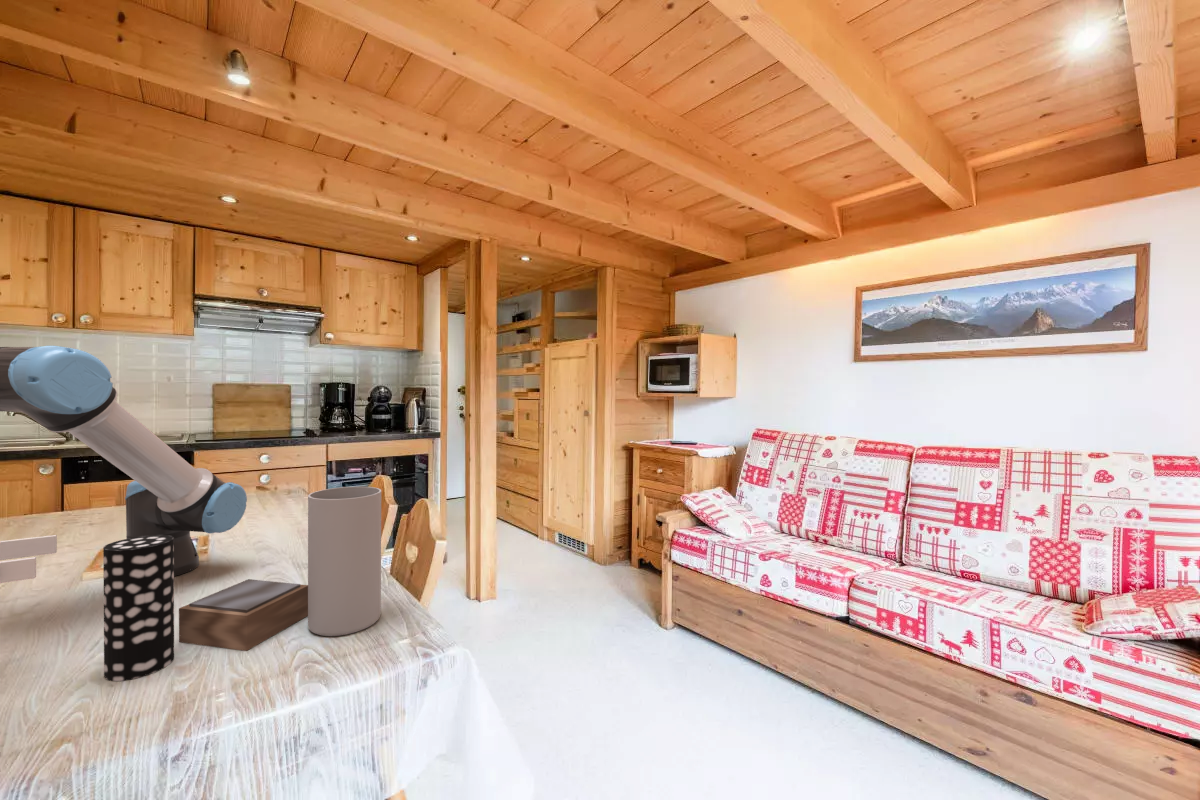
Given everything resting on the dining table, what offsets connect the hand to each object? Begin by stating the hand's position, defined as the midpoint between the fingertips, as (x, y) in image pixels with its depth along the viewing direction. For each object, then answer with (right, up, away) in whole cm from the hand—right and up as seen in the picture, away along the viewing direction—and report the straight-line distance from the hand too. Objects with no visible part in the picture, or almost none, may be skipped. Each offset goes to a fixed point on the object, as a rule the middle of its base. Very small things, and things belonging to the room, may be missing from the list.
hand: (47, 554), depth 74 cm
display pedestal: (+15, -20, +20) cm, 32 cm away
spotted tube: (+7, -20, +7) cm, 23 cm away
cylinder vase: (+32, -20, +23) cm, 44 cm away
